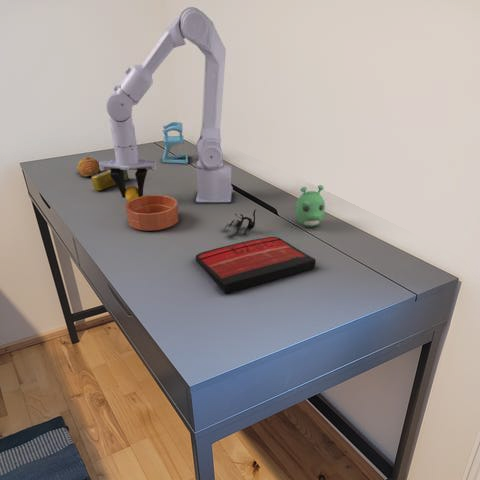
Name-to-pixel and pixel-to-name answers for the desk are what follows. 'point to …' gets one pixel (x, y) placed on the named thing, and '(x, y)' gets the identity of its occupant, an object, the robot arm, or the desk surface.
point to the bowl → (152, 212)
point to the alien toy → (310, 207)
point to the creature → (250, 225)
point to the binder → (253, 263)
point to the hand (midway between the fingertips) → (132, 196)
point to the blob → (131, 193)
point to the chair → (173, 143)
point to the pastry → (88, 167)
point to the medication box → (105, 180)
